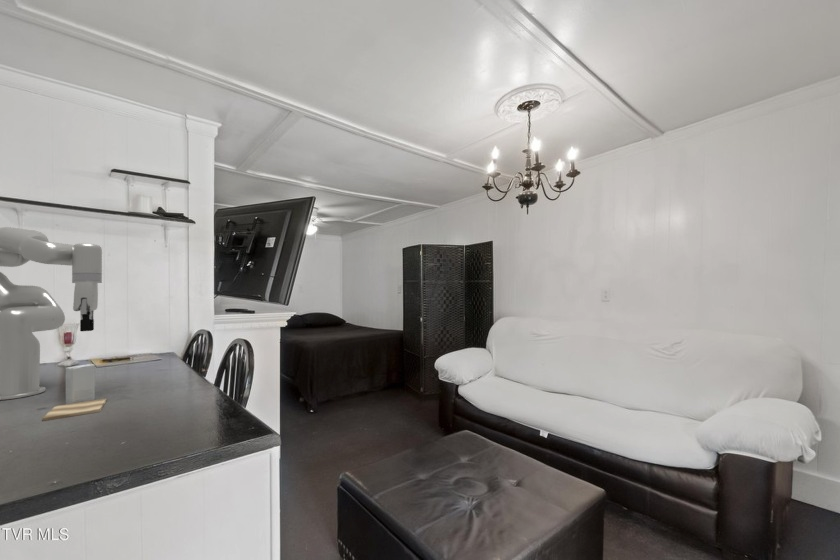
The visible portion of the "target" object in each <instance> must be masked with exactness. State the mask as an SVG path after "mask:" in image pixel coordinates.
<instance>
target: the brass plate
mask: <svg viewBox="0 0 840 560" xmlns="http://www.w3.org/2000/svg"><path fill="white" fill-rule="evenodd" d="M107 402H108V398H107V397H106V398H101V399H95V400H92V401H85V402H79V403H72V404H66V403H65V404H59V405H55V406H54V407H52V408H51V410H49V411H48V412H47V413H46V414H45V415H44V416H43V417H42V418H41V419H42V420H41V421H42V422H45V421H51V420H57V419H58V420H59V419H64V417H65V418H69V417H70V416H71V417H75V416H81V415H82V416H83V415H88V414H93V413H100V412H101V410H103V408H104V406H105V405H106V403H107Z"/></svg>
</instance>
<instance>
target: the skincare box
mask: <svg viewBox="0 0 840 560" xmlns="http://www.w3.org/2000/svg"><path fill="white" fill-rule="evenodd" d="M92 400H96V364H92V363H87V364H81V365H75V366H69V367H65V404H72V403H79V402H85V401H92Z"/></svg>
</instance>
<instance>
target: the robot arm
mask: <svg viewBox="0 0 840 560" xmlns="http://www.w3.org/2000/svg"><path fill="white" fill-rule="evenodd" d="M102 250H103V248H102V247H101V245H98V244H95V243H75V244H68V243H62V242H61V243H60V242H50V241H49V238H48V236H47V235H46V234H44V233H43V232H41V231H37V230H33V229H24V228H19V227H11V226H10V227H9V226H6V227H0V267H5V268H9V267H10V268H17V267H20V266H23V265H25V264H27V263H28V262H29V261H31V262H35V263H39V264H43V265H58V266H59V265H61V266H71V281H72V282H71V283H72V284H74V290H73V305H72V309H73V311H74V312H80V321H79V330H80V332H91V331H94V330H95V329H94V328H95V319H94V312H95V310H97V309H98V304H99V302H98V301H99V299H98V298H99V287H98V286H99V285H98V284H101V283H103V282H102V281H103V278H102V277H103V275H102V274H103V273H102V272H103V269H102V268H103V258H102V257H103V256H102V255H103V251H102ZM65 320H66V317H65V312H64V310H63V309H62V308H61V307H60V305H59V304H58V303H57V301H56V300H55V299H54V297H52V295H51V293H49V292H48V291H47V290H46V289H44V288H42V287H41V286H37V285H22V284H21V285H20V284H19V285H18V284H15V283H13V282H12V281H11V280H9V278H8V276H7V275H6V274H4V272H2V271H0V400H1V401H2V400H3V401H4V400H14V399H20V398H26V397H31V396H34V395H38V394H41V393H44V392H46V387H45V386H40V376H41V375H40V373H41V372H40V371H41V370H40V369H41V368H40V366H41V362H40V361H41V345H40V341H39V339H38V338H37V337H36V336H35V334H34V332H45V331H53V330H57V329H59V328H61V327H62V326H63V325H64V323H65Z"/></svg>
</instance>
